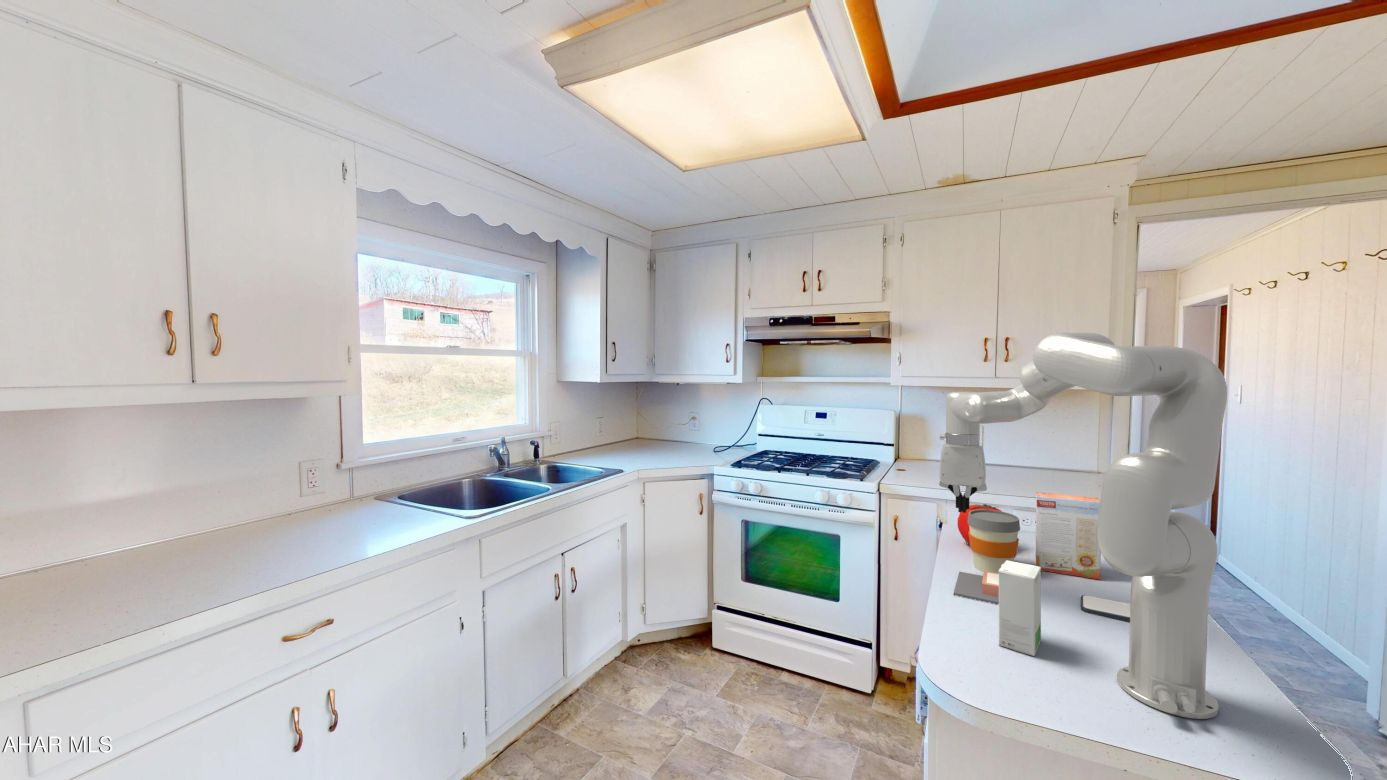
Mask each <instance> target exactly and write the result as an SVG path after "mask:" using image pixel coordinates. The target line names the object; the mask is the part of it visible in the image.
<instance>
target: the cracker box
mask: <svg viewBox="0 0 1387 780" xmlns="http://www.w3.org/2000/svg"><path fill="white" fill-rule="evenodd" d="M1099 509H1100V499H1099V497H1093V496H1083V495H1071V494H1065V493H1064V494H1063V493H1062V494H1061V493H1052V492H1051V493H1050V492H1041V491H1040V492H1039V491H1038V492H1035V566H1038V567H1041V571H1045V572H1050V573H1055V574H1056V573H1057V574H1063V575H1068V576H1073V577H1079V578H1080V577H1081V578H1085V579H1086V578H1087V579H1092V580H1101V563H1102V562H1101V561H1102V559H1101V556H1102V554H1101V552H1100V549H1099V546H1098V540H1097V528H1098V518H1099Z"/></svg>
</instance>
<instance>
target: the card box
mask: <svg viewBox="0 0 1387 780" xmlns="http://www.w3.org/2000/svg"><path fill="white" fill-rule="evenodd" d="M982 573H983V574H982V576H983V580H982V594H985V595H990V596H995V597H999V573H995V572H989V571H984V572H982Z"/></svg>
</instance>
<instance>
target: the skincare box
mask: <svg viewBox="0 0 1387 780" xmlns="http://www.w3.org/2000/svg"><path fill="white" fill-rule="evenodd" d="M1001 566H1002V567H1001V568H1000V569H999V605H998V646H1000V647H1003V648H1006V649H1008V650H1009V649H1010V650H1013V651H1016V652H1019V653H1022V654H1025V655H1028V656H1033V657H1035V656H1036V654H1037V651H1038V649H1039V647H1040V644H1041V641H1042V612H1041V611H1042V600H1041V599H1042V595H1041V594H1042V592H1041V591H1042V587H1041V584H1042V583H1041V574H1042V573H1041V571H1042V570H1041V567H1038V566H1036V565H1033V564H1027V563H1021V562H1016V561H1014V560H1013V561H1008V560H1006V562H1005V563H1004V564H1002V565H1001Z"/></svg>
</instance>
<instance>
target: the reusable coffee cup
mask: <svg viewBox="0 0 1387 780" xmlns="http://www.w3.org/2000/svg"><path fill="white" fill-rule="evenodd" d="M968 524H969V528H970V531H969V532H968V533H969V541H970V544H969V547H970V550H971V552H972V558H973V559H972V560H973V563H974V564H973V565H974V568H975V569H976V568H977V570H978V571H980V572H982V573H984V571H989V572H995V573H999V569H1000V568H1001V567H1002V566H1001V565H1002V564H1004V563H1005V562H1006V560H1008V561H1013V562H1014V558H1015V557H1016V556H1017V552H1018V548H1019V547H1018V546H1019V541H1020V539H1019V537H1018V535H1019V532H1020V530H1021V525H1020V518H1019V517H1018V516H1017V515H1015V514H1012V513H1009V512H1006V511H1002V510H1001V511H996V510H972V511H970V512H969V514H968Z"/></svg>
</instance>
